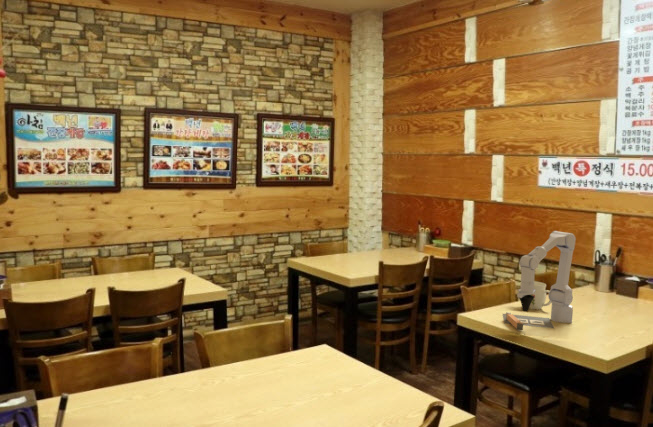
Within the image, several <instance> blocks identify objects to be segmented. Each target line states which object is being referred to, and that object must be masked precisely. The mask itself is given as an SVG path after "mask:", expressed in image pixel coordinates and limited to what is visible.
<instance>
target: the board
mask: <svg viewBox="0 0 653 427" xmlns="http://www.w3.org/2000/svg"><path fill="white" fill-rule="evenodd" d="M507 314H512V313H511V312H508V311H507V312H505V313H502V319H503V324H504V325H506V324H507V325H512V324H511V323H510V322H509V321H508V320H507ZM513 315H514V316H515V317H516V318H518V319H527V320H528V324H523V327H524V326H525V327H536V328H546V329H555V327H554V325H553V323H552V320H551V318H550V317H542V316H541V317H540V316H531V315H529V316H528V315H521V314H520V315H519V314H513ZM530 320H538V321H543V322H544V326H542V325H532V324H530Z"/></svg>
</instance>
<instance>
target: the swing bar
mask: <svg viewBox="0 0 653 427" xmlns="http://www.w3.org/2000/svg"><path fill="white" fill-rule="evenodd" d="M514 315H515V314H512V313H511V314H507V320H508V321H509V322H510V323H511V324H510V325H512V326H513V327H514V328H516V330H518V331H522V330H523V329H524V325H523V323H522V322H520V321H519V320H518V319H517V318H516V317H515V316H514Z"/></svg>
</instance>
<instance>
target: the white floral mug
mask: <svg viewBox="0 0 653 427" xmlns="http://www.w3.org/2000/svg"><path fill="white" fill-rule="evenodd" d="M546 288H547V284H546V283H544V282H540V281H535V280H534V289H536V293H535V294H531V295H532V296H534V298H533V300H532V302H531V304H530V307H529V309H530V308H531V309H530V310H535V309H537V310H538V309H539V310H542V308H543V307H548V306H550V305H552V303H551V301H550V300H549V299H548V300H549V301H547V302H546V300H547V293H548V294H549V292H550V290H548V289H546Z"/></svg>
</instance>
